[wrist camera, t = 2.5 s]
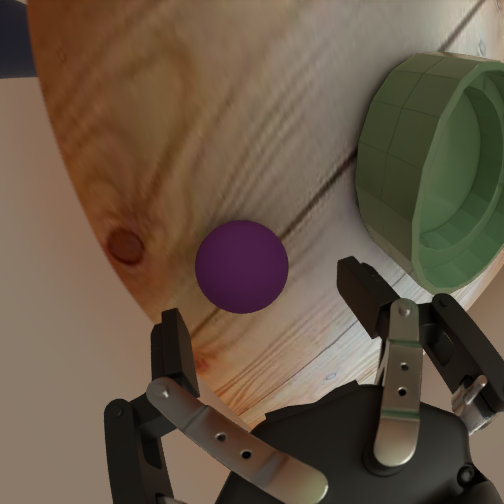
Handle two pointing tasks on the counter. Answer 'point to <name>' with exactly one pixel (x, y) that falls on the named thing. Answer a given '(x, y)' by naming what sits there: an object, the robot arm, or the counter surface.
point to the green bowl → (436, 168)
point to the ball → (241, 267)
